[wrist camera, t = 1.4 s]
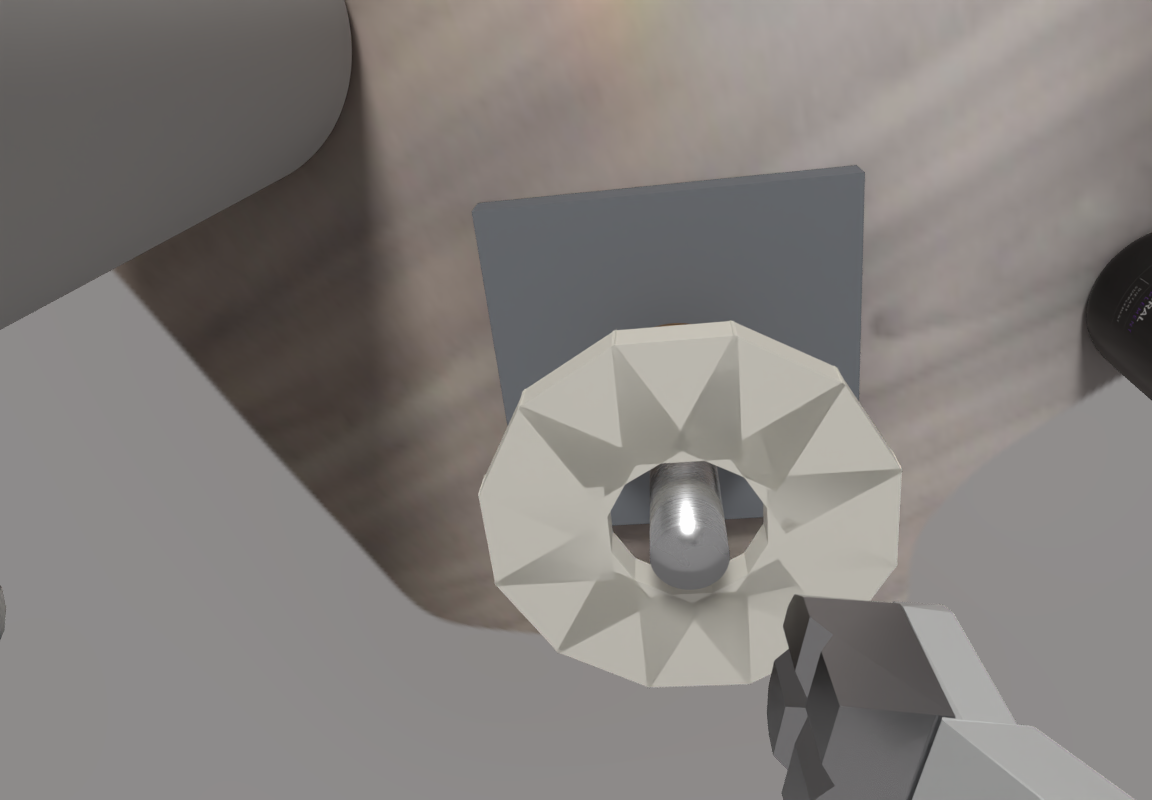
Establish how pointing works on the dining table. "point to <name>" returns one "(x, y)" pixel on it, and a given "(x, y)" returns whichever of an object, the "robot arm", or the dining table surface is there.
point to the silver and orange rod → (687, 523)
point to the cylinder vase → (149, 124)
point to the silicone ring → (685, 434)
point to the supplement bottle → (1125, 313)
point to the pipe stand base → (676, 278)
